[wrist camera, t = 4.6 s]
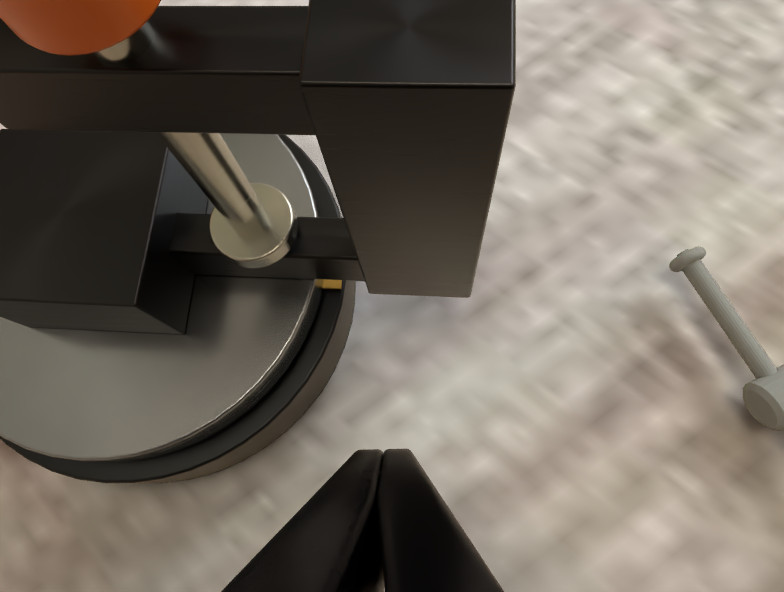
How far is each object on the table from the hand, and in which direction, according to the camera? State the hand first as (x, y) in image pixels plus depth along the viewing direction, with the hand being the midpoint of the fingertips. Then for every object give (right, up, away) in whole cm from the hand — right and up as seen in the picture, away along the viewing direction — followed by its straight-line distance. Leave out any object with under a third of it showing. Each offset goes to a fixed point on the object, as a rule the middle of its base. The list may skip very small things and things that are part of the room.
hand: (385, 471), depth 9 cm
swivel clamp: (-5, +3, +6) cm, 9 cm away
